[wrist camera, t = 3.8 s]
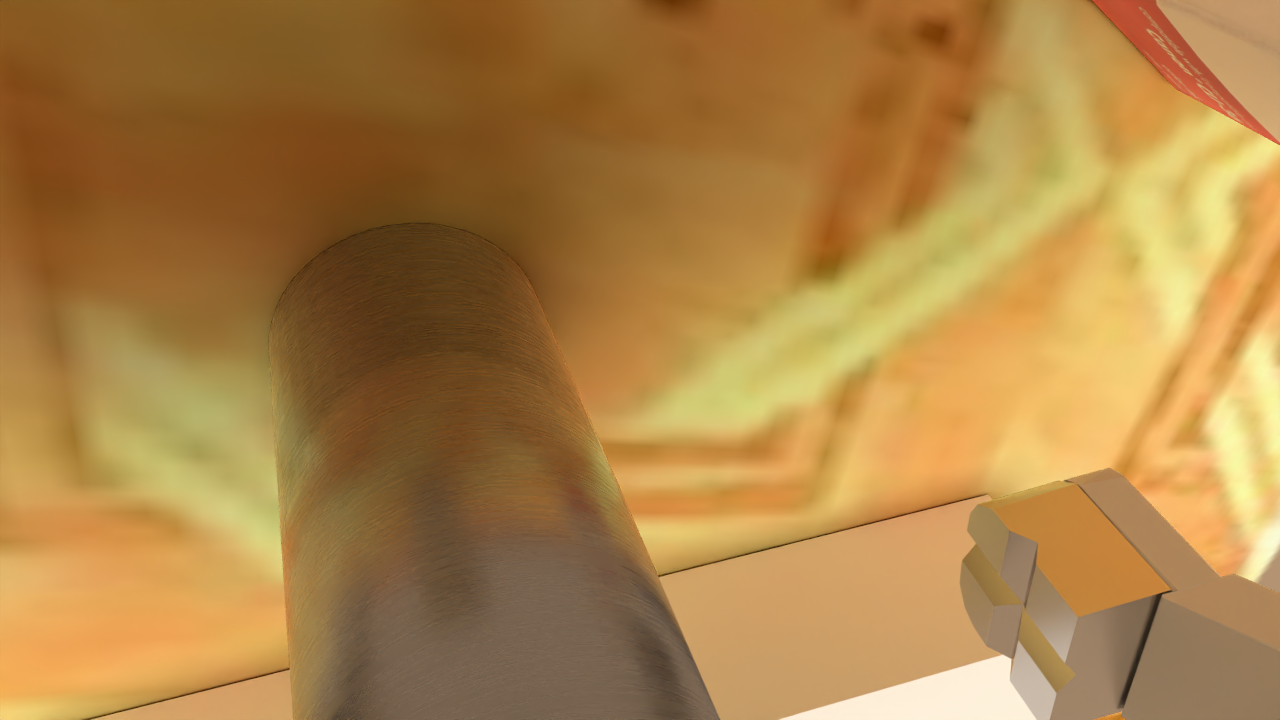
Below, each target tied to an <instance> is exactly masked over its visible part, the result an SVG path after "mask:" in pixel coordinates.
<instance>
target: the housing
mask: <svg viewBox="0 0 1280 720" xmlns="http://www.w3.org/2000/svg"><path fill="white" fill-rule="evenodd" d="M990 500H993V499H992V498H991V497H990V496H989V495H984V496H980V497H976V498H972V499H968V500H964V501H960V502H956V503H952V504H948V505H944V506H940V507H936V508H932V509H928V510H924V511H920V512H916V513H912V514H908V515H904V516H901V517H897V518H893V519H889V520H885V521H881V522H877V523H873V524H869V525H865V526H861V527H857V528H853V529H849V530H845V531H841V532H837V533H833V534H829V535H825V536H821V537H817V538H813V539H809V540H805V541H801V542H797V543H793V544H789V545H785V546H781V547H777V548H773V549H769V550H765V551H761V552H757V553H753V554H749V555H745V556H741V557H737V558H733V559H729V560H725V561H721V562H717V563H713V564H709V565H705V566H701V567H697V568H693V569H689V570H685V571H681V572H677V573H673V574H669V575H665V576H661V577H659V580H660V582H661V584H662V587H663V589H664V591H665V594H666V596H667V598H668V600H669V603H670V605H671V607H672V610H673V612H674V614H675V617H676V619H677V621H678V624H679V626H680V628H681V631H682V633H683V635H684V637H685V640H686V642H687V644H688V647H689V649H690V651H691V654H692V656H693V658H694V661H695V663H696V665H697V668H698V670H699V672H700V674H701V677H702V679H703V681H704V684H705V686H706V688H707V691H708V693H709V695H710V698H711V700H712V702H713V705H714V707H715V709H716V711H717V714H718V716H719V718H720V720H1037V719H1036V718H1035V717H1034V715H1033V714H1032V712H1031V711H1030V709H1029V708H1028V706H1027V705H1026V703H1025V702H1024V701H1023V699H1022V698H1021V696H1020V695H1019V693H1018V692H1017V690H1016V689H1015V688H1014V686H1013V685H1012V683H1011V682H1010V671H1011V659H1010V658H1008V657H1006V656H1005V655H1003V654H1001V653H999V652H997V651H995V650H993V649H991V648H989V647H987V646H986V645H985V643H984V642H983V640H982V639H981V637H980V636H979V634H978V633H977V631H976V630H975V628H974V627H973V624H972V622H971V620H970V618H969V616H968V613H967V611H966V609H965V606H964V602H963V597H962V592H961V588H960V583H959V582H960V573H961V565H962V560H963V559H964V557H965V556H966V555H967V554H968V553H969V551H970V550H971V549H972V548H973V547H974V545H975V544H976V543H975V541H974V540H973V538H972V537H971V536H970V534H969V533H968V531H967V528H968V522H969V517H970V513H971V512H972V511H973V509H974V508H975V507H976V506H977V504H980V503H983V502H987V501H990ZM91 720H293V713H292V697H291V682H290V670H286V671H282V672H278V673H275V674H271V675H267V676H263V677H259V678H255V679H251V680H247V681H243V682H239V683H235V684H231V685H227V686H223V687H219V688H215V689H211V690H207V691H203V692H199V693H195V694H191V695H187V696H183V697H179V698H175V699H171V700H167V701H163V702H159V703H155V704H151V705H147V706H143V707H139V708H135V709H131V710H127V711H123V712H119V713H115V714H111V715H107V716H103V717H99V718H95V719H91Z"/></svg>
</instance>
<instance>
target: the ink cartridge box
mask: <svg viewBox="0 0 1280 720" xmlns="http://www.w3.org/2000/svg"><path fill="white" fill-rule="evenodd" d="M1092 1H1093V2H1094V3H1095V4H1096V5H1097V6H1098V7H1099V8H1100V9H1101V10H1102V11H1103V13H1104V14H1105V15H1106V16H1107V17H1108V18H1109V19H1110V20H1111V21H1112V22H1113V23H1114V24H1115V25H1116V26H1117V27H1118V28H1119V29H1120V30H1121V31H1122V32H1123V33H1124V35H1125V36H1126V37H1127V38H1128V39H1129V40H1130V41H1131V42H1132V43H1133V44H1134V45H1135V46H1136V47H1137V48H1138V49H1139V50H1140V51H1141V53H1142V54H1143V55H1144V56H1145V57H1146V58H1147V59H1148V60H1149V61H1150V62H1151V63H1152V64H1153V65H1154V66H1155V67H1156V68H1157V69H1158V70H1159V71H1160V73H1161V74H1162V75H1163V76H1164V77H1165V78H1166V79H1167V80H1168V81H1169V82H1170V83H1171V84H1172V85H1173V86H1174V87H1175V88H1176V89H1177V90H1178V91H1180V92H1182V93H1184V94H1186V95H1188V96H1190V97H1192V98H1194V99H1196V100H1198V101H1200V102H1202V103H1203V104H1205V105H1207V106H1209V107H1211V108H1213V109H1215V110H1216V111H1218V112H1220V113H1222V114H1224V115H1226V116H1227V117H1229V118H1231V119H1233V120H1235V121H1236V122H1238V123H1240V124H1242V125H1244V126H1246V127H1247V128H1249V129H1251V130H1253V131H1255V132H1257V133H1258V134H1260V135H1262V136H1264V137H1266V138H1268V139H1269V140H1271V141H1273V142H1275V143H1277V144H1278V145H1280V0H1092Z"/></svg>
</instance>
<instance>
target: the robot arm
mask: <svg viewBox="0 0 1280 720" xmlns="http://www.w3.org/2000/svg"><path fill="white" fill-rule="evenodd" d="M967 531H968V533H969V534H970V536H971V537H972V538H973V540H974V541H975V543H976V544H975V545H974V547H973V548H972V549H971V550H970V551H969V553H968V554H967V555H966V556H965V557H964V559H963V560H962V565H961V573H960V582H959V583H960V588H961V592H962V597H963V602H964V606H965V609H966V611H967V613H968V616H969V618H970V620H971V622H972V624H973V627H974V628H975V630H976V631H977V633H978V634H979V636H980V637H981V639H982V640H983V642H984V643H985V645H986V646H987V647H989V648H991V649H993V650H995V651H997V652H999V653H1001V654H1003V655H1005V656H1006V657H1008V658H1010V659H1011V671H1010V682H1011V683H1012V685H1013V686H1014V688H1015V689H1016V690H1017V692H1018V693H1019V695H1020V696H1021V698H1022V699H1023V701H1024V702H1025V703H1026V705H1027V706H1028V708H1029V709H1030V711H1031V712H1032V714H1033V715H1034V717H1035V718H1036V719H1037V720H1094V719H1097V718H1100V717H1104V716H1107V715H1111V714H1114V713H1118V712H1121V711H1122V714H1121V716H1122V717H1123V718H1125V719H1127V720H1280V593H1278V592H1276V591H1274V590H1271V589H1269V588H1267V587H1264V586H1262V585H1259V584H1257V583H1255V582H1252V581H1250V580H1248V579H1245V578H1243V577H1241V576H1238V575H1236V574H1230V575H1226V576H1222V577H1221V576H1220V575H1219V574H1218V573H1217V572H1216V571H1215V570H1214V569H1213V568H1212V567H1211V566H1210V565H1209V564H1208V563H1207V562H1206V561H1205V560H1204V559H1203V558H1202V557H1201V556H1200V555H1199V554H1198V553H1197V552H1196V551H1195V549H1194V548H1193V547H1192V546H1191V545H1190V544H1189V543H1188V542H1187V541H1186V540H1185V539H1184V538H1183V537H1182V536H1181V535H1180V534H1179V533H1178V532H1177V531H1176V530H1175V529H1174V528H1173V527H1172V526H1171V525H1170V523H1169V522H1168V521H1167V520H1166V519H1165V518H1164V517H1163V516H1162V515H1161V514H1160V513H1159V512H1158V511H1157V510H1156V509H1155V508H1154V507H1153V506H1152V505H1151V504H1150V503H1149V502H1148V501H1147V500H1146V499H1145V498H1144V496H1143V495H1142V494H1141V493H1140V492H1139V491H1138V490H1137V489H1136V488H1135V487H1134V486H1133V485H1132V484H1131V483H1130V482H1129V481H1128V480H1127V479H1126V478H1125V477H1124V476H1123V475H1122V474H1121V473H1119V472H1117V471H1115V470H1113V469H1111V468H1107V469H1103V470H1099V471H1095V472H1092V473H1088V474H1085V475H1081V476H1077V477H1074V478H1070V479H1067V480H1064V481H1055V482H1052V483H1049V484H1045V485H1042V486H1038V487H1035V488H1031V489H1028V490H1025V491H1021V492H1018V493H1014V494H1011V495H1007V496H1004V497H1001V498H997V499H994V500H990V501H987V502H983V503H980V504H977V506H976V507H975V508H974V509H973V511H972V512H971V513H970V517H969V522H968V528H967Z"/></svg>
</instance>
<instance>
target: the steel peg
mask: <svg viewBox="0 0 1280 720" xmlns="http://www.w3.org/2000/svg"><path fill="white" fill-rule="evenodd" d="M269 361H270V376H271V392H272V407H273V422H274V437H275V453H276V468H277V483H278V499H279V514H280V529H281V544H282V560H283V575H284V590H285V606H286V621H287V636H288V651H289V667H290V682H291V697H292V713H293V720H720V718H719V716H718V714H717V711H716V709H715V707H714V705H713V702H712V700H711V698H710V695H709V693H708V691H707V688H706V686H705V684H704V681H703V679H702V677H701V674H700V672H699V670H698V668H697V665H696V663H695V661H694V658H693V656H692V654H691V651H690V649H689V647H688V644H687V642H686V640H685V637H684V635H683V633H682V631H681V628H680V626H679V624H678V621H677V619H676V617H675V614H674V612H673V610H672V607H671V605H670V603H669V600H668V598H667V596H666V594H665V591H664V589H663V587H662V584H661V582H660V580H659V577H658V575H657V573H656V570H655V568H654V566H653V563H652V561H651V559H650V557H649V554H648V552H647V550H646V547H645V545H644V543H643V540H642V538H641V536H640V533H639V531H638V529H637V527H636V524H635V522H634V520H633V517H632V515H631V513H630V510H629V508H628V506H627V503H626V501H625V499H624V496H623V494H622V492H621V490H620V487H619V485H618V483H617V480H616V478H615V476H614V473H613V471H612V469H611V466H610V464H609V462H608V459H607V457H606V455H605V453H604V450H603V448H602V446H601V443H600V441H599V439H598V436H597V434H596V432H595V429H594V427H593V425H592V422H591V420H590V418H589V416H588V413H587V411H586V409H585V406H584V404H583V402H582V399H581V397H580V395H579V392H578V390H577V388H576V385H575V383H574V381H573V379H572V376H571V374H570V372H569V369H568V367H567V365H566V362H565V360H564V358H563V355H562V353H561V351H560V349H559V346H558V344H557V342H556V339H555V337H554V335H553V332H552V330H551V328H550V325H549V323H548V321H547V318H546V316H545V314H544V312H543V309H542V307H541V305H540V302H539V300H538V298H537V295H536V293H535V291H534V289H533V287H532V285H531V283H530V281H529V279H528V277H527V276H526V275H525V273H524V272H523V271H522V269H521V268H520V267H519V265H518V264H517V263H516V262H515V261H514V260H513V259H512V258H511V257H510V256H509V255H508V254H506V253H505V252H504V251H502V250H501V249H499V248H498V247H497V246H495V245H494V244H492V243H490V242H489V241H487V240H485V239H483V238H481V237H479V236H477V235H474V234H472V233H469V232H466V231H464V230H460V229H456V228H452V227H448V226H443V225H435V224H424V223H407V224H398V225H389V226H384V227H380V228H375V229H371V230H368V231H365V232H362V233H359V234H356V235H354V236H351V237H349V238H347V239H345V240H343V241H341V242H339V243H337V244H335V245H333V246H332V247H330V248H328V249H327V250H325V251H324V252H322V253H321V254H319V255H318V256H317V257H316V258H314V259H313V260H312V261H311V262H310V263H308V264H307V265H306V266H305V267H304V268H303V269H302V270H301V271H300V272H299V273H298V275H297V276H296V277H295V278H294V279H293V280H292V282H291V283H290V285H289V286H288V287H287V289H286V290H285V292H284V293H283V295H282V297H281V299H280V301H279V303H278V305H277V307H276V310H275V313H274V316H273V319H272V322H271V327H270V334H269Z"/></svg>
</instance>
